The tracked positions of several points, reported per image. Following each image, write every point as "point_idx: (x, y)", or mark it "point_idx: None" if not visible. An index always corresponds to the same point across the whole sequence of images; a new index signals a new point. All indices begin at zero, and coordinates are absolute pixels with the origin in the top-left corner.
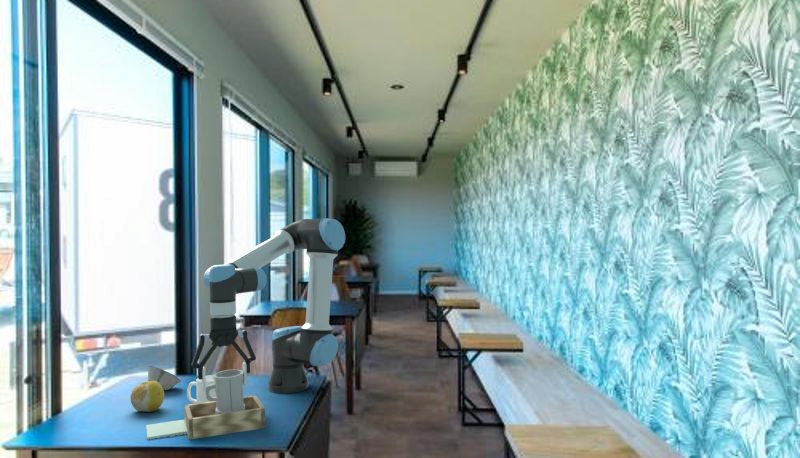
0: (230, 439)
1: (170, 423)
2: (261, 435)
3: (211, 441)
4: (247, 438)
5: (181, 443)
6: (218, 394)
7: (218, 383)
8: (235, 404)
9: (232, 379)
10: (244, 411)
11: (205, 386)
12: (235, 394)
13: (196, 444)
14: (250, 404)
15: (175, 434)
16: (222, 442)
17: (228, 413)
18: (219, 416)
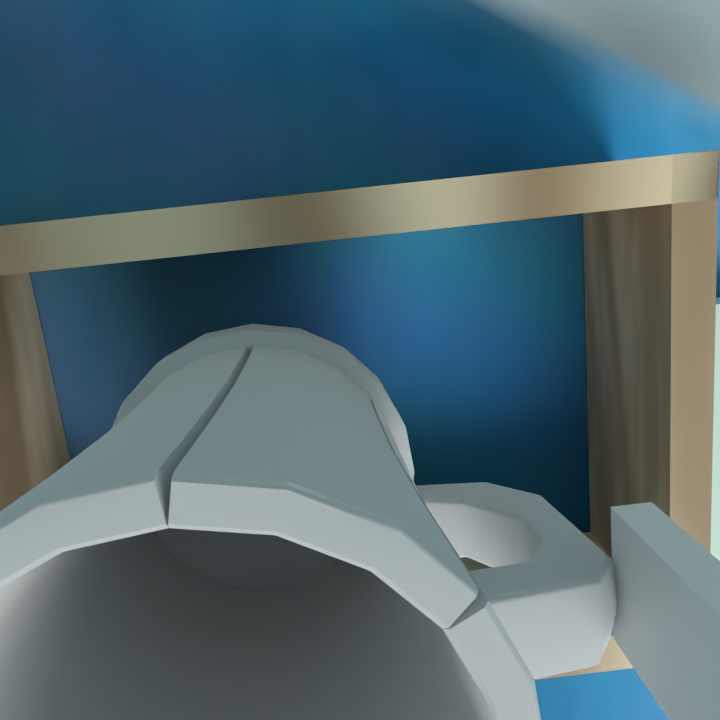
0: (283, 70)
1: None
2: (13, 65)
3: (439, 85)
4: (137, 36)
5: (671, 134)
6: (402, 467)
7: (427, 518)
8: (191, 369)
9: (115, 468)
10: (98, 217)
11: (647, 538)
12: (156, 405)
13: (560, 60)
14: None
15: (716, 301)
16: (351, 21)
17: (282, 213)
18: (382, 185)
